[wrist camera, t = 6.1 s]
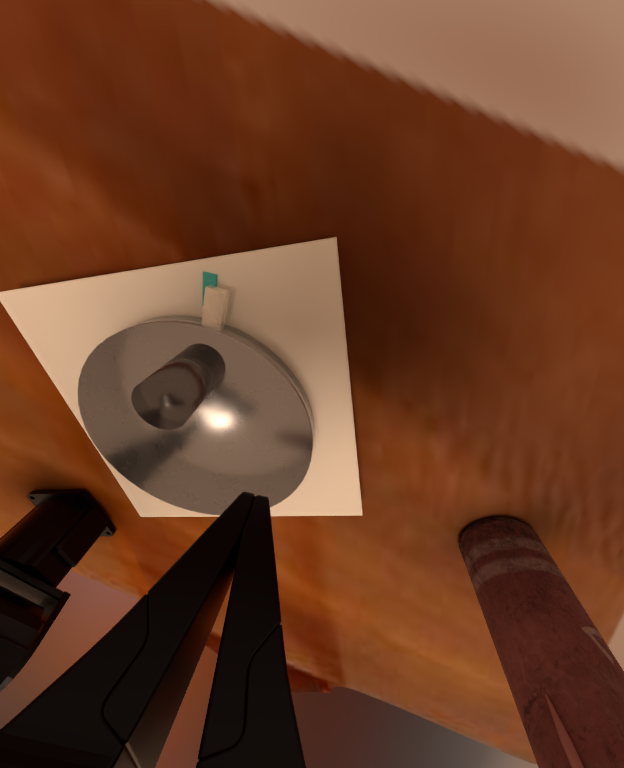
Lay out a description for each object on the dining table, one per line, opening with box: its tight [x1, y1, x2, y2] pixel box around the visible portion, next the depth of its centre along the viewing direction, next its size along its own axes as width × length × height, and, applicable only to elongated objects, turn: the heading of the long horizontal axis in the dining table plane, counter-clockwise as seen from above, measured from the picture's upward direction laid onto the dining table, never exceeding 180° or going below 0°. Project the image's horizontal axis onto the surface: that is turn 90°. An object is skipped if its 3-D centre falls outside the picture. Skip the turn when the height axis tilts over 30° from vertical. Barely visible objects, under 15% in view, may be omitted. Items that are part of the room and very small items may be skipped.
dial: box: [77, 285, 315, 515], centre depth 16 cm, size 17×15×6 cm
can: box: [459, 517, 624, 768], centre depth 18 cm, size 6×6×14 cm
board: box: [0, 237, 362, 517], centre depth 20 cm, size 20×20×2 cm
